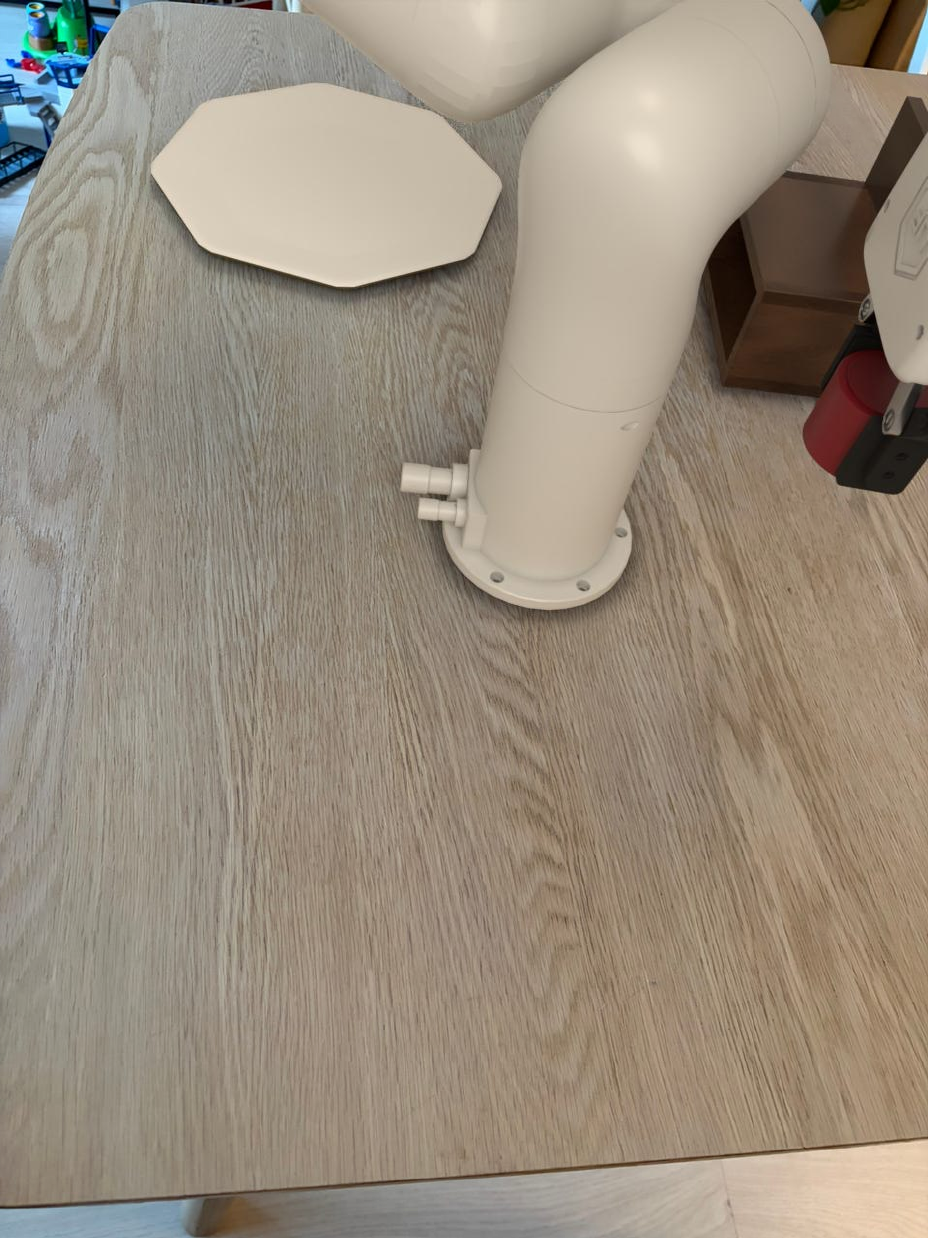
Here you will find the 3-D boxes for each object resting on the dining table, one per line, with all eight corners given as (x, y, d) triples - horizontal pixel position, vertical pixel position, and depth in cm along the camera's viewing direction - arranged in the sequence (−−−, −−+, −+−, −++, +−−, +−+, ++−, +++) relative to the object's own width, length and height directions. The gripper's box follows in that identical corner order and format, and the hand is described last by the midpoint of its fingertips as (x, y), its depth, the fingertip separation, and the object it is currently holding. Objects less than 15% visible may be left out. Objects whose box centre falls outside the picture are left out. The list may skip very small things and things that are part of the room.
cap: (808, 477, 48) (847, 416, 45) (796, 400, 51) (832, 337, 48) (913, 496, 48) (960, 436, 45) (896, 418, 51) (938, 357, 48)
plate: (521, 150, 95) (524, 134, 94) (444, 331, 79) (447, 315, 78) (238, 73, 96) (237, 57, 95) (105, 237, 80) (102, 220, 79)
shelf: (722, 386, 80) (804, 200, 67) (699, 259, 89) (767, 74, 76) (869, 403, 81) (979, 224, 68) (831, 277, 90) (922, 97, 77)
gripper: (954, -72, 39) (766, 311, 54) (1067, 186, 29) (800, 567, 44) (1138, -32, 40) (902, 336, 54) (1309, 234, 30) (965, 595, 45)
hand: (858, 437), depth 49 cm, fingers closed on cap, 5 cm apart
